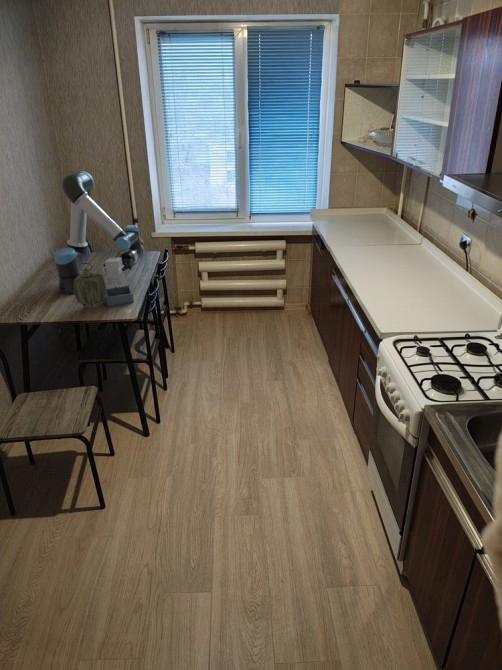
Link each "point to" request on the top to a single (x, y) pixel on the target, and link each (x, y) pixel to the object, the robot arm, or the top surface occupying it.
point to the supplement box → (114, 270)
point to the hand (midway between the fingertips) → (110, 271)
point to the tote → (119, 296)
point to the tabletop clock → (89, 288)
